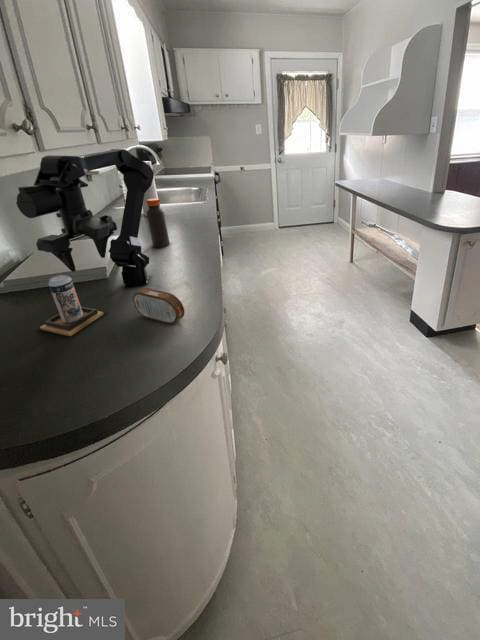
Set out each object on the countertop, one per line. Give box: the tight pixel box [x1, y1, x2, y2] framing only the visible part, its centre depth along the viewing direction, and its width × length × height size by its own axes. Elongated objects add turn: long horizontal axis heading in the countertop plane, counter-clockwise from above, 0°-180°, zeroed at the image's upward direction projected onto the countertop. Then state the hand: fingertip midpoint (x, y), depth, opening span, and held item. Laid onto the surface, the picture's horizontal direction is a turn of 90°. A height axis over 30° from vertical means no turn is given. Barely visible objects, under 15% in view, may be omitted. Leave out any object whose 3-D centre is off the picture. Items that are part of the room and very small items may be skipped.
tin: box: [132, 286, 185, 325], centre depth 79 cm, size 15×3×8 cm, turn 68°
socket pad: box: [39, 306, 105, 337], centre depth 80 cm, size 10×10×2 cm
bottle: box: [146, 197, 170, 248], centre depth 128 cm, size 7×7×20 cm
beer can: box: [47, 274, 83, 323], centre depth 77 cm, size 5×5×12 cm
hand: (89, 264), depth 82 cm, fingers open, 9 cm apart
